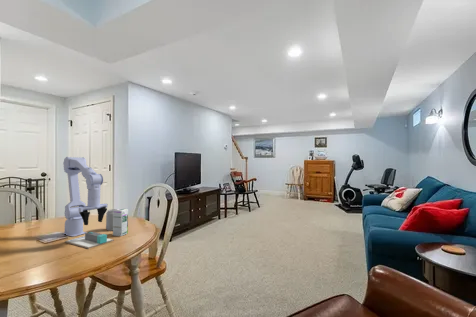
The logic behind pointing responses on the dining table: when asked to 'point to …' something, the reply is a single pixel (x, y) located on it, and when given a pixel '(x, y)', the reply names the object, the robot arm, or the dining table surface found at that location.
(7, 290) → the dining table surface
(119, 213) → the syrup box
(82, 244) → the notepad
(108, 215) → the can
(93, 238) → the grey teal rectangular block
